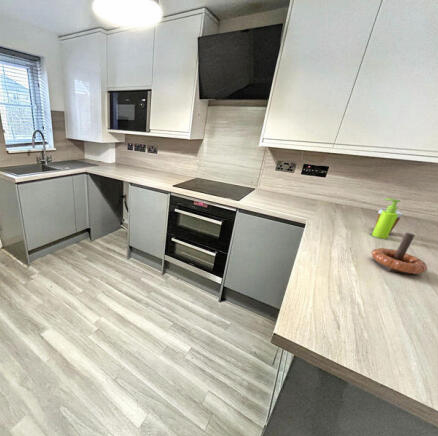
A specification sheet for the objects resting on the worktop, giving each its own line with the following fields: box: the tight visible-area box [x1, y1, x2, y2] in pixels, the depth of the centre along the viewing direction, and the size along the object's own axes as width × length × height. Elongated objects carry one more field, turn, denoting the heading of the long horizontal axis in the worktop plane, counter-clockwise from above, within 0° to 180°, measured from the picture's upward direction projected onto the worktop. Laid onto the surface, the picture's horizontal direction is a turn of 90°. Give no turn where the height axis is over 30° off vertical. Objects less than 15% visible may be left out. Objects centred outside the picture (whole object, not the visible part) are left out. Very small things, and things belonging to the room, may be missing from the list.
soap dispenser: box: [371, 198, 401, 240], centre depth 119 cm, size 6×7×20 cm
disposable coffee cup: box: [374, 208, 404, 235], centre depth 127 cm, size 10×10×12 cm
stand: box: [372, 232, 418, 276], centre depth 91 cm, size 9×9×14 cm
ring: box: [371, 247, 428, 275], centre depth 92 cm, size 15×15×4 cm
